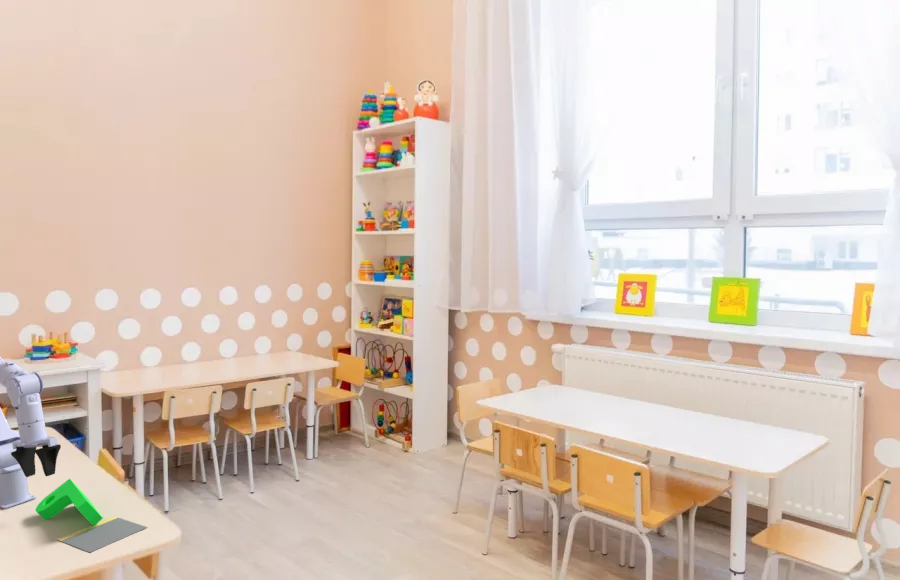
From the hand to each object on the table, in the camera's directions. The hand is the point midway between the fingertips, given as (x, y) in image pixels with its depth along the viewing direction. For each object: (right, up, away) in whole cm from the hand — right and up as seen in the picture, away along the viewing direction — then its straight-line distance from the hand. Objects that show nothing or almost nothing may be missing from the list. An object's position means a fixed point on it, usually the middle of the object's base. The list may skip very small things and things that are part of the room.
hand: (40, 475), depth 173 cm
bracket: (+10, -10, -5) cm, 15 cm away
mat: (+22, -10, -12) cm, 27 cm away
